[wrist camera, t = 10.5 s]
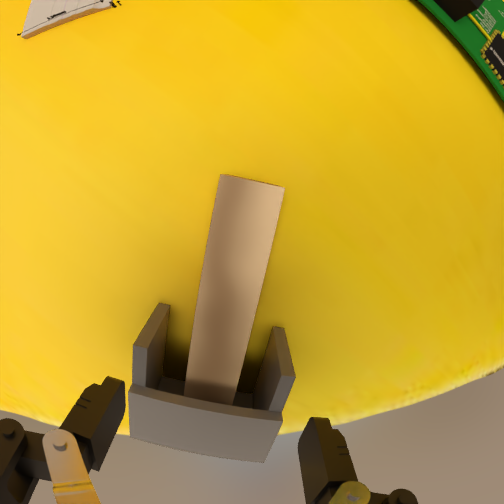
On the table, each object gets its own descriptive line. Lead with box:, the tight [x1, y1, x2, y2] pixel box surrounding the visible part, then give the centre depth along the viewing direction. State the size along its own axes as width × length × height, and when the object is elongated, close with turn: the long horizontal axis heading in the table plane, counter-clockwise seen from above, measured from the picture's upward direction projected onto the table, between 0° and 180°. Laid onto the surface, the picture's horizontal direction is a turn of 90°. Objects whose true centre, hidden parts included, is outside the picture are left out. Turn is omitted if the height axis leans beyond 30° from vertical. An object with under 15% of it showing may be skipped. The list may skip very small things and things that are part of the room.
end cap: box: [128, 303, 296, 463], centre depth 23 cm, size 11×9×8 cm
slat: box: [184, 174, 285, 406], centre depth 23 cm, size 4×18×5 cm, turn 168°
